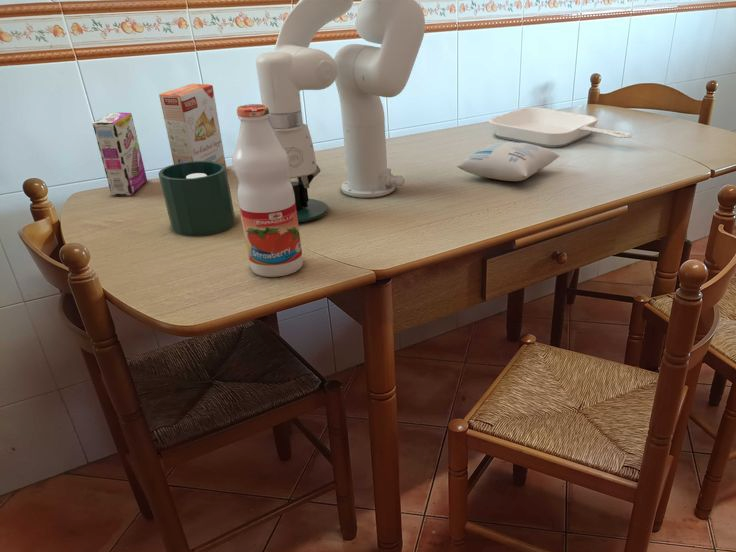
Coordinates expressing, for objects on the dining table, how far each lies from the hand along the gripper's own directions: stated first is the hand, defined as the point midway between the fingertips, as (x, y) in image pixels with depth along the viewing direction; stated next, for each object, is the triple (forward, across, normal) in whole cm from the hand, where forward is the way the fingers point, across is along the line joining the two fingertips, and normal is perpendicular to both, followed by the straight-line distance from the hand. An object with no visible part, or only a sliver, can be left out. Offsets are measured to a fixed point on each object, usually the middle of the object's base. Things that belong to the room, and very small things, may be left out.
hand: (294, 206), depth 143 cm
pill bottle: (+1, -18, +6) cm, 19 cm away
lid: (+1, 0, 0) cm, 1 cm away
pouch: (+2, +55, -8) cm, 55 cm away
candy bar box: (+2, -24, +39) cm, 45 cm away
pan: (+1, +92, +10) cm, 93 cm away
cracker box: (+2, -7, +37) cm, 38 cm away
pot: (+2, -18, +6) cm, 19 cm away
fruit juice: (+2, -15, -23) cm, 27 cm away
